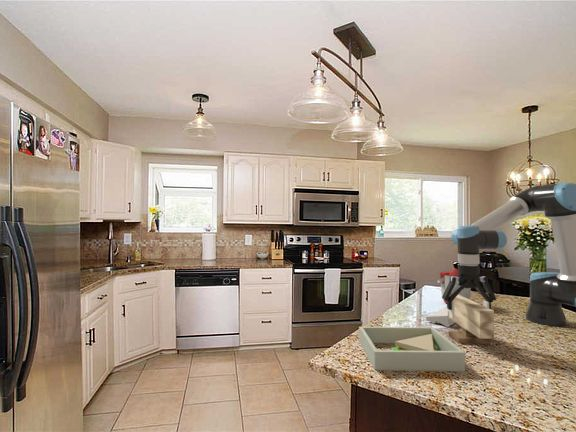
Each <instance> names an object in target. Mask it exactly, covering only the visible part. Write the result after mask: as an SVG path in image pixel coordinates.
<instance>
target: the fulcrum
mask: <svg viewBox="0 0 576 432" xmlns="http://www.w3.org/2000/svg"><path fill="white" fill-rule="evenodd" d="M448 337H449V338H451V339H452V340H453V341H454V342H456V343H457V344H459V343H467V344H466V345H468V344H471V345H472V344H474V345H475V344H476V345H477V344H479V345H490V344H491V339H487V338H479V337H477V336H475V335H474V334H472V333H471V332H469V331H468V330H466V329H465V328H463V327H461V326H460V331H459V330H448Z"/></svg>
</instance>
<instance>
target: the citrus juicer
mask: <svg viewBox="0 0 576 432" xmlns="http://www.w3.org/2000/svg"><path fill="white" fill-rule="evenodd" d="M439 275H440V276H439V277H440V278H439V279H437V283H438V284H439V283H440V291H441V295H442V296H443V294H444V292H445V290H446V288H447V286H448V284H449V282H450V276H453V277H458V268H453V269H452V270H451V271H441V272H440V273H439ZM458 283H459V281H458V280H457V282H456V283H455V286H454V288H453V290H454V289H455V288H456V286H457V284H458ZM471 289H472V288H464V289H463V290H461V291H460V293H459V294H458V295H461V296H463V297H465V298H467V299H469V300H470V297H471V292H472V290H471ZM453 290H452V291H453ZM442 296H441V297H442ZM442 300H443V302H444V303H445V304H447V301H446V300H444V299H442Z"/></svg>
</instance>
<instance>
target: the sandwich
mask: <svg viewBox="0 0 576 432" xmlns="http://www.w3.org/2000/svg"><path fill="white" fill-rule="evenodd" d="M394 346H395V347H390V349H391V350H404V351H438V350H437V347H438V346H436V345H435V344H434V343H433V340H432V334H428V335H423V336H418V337H414V338H409V339H404V340H400V341H395V343H394Z"/></svg>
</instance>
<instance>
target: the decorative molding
mask: <svg viewBox="0 0 576 432" xmlns="http://www.w3.org/2000/svg"><path fill="white" fill-rule="evenodd" d="M425 318H426V321H427V322H431V324H433V325H434V324H441V325H443V326H445V327H447V328H449V327H450V326H453V325H455V324H456V323H455V322H454V321H452V320H451V319H449V318H448V309H447V306H445V307H444V308H441V309H439V310H436V311H435V312H433V313H431V314H429V315H426V316H425Z"/></svg>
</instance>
